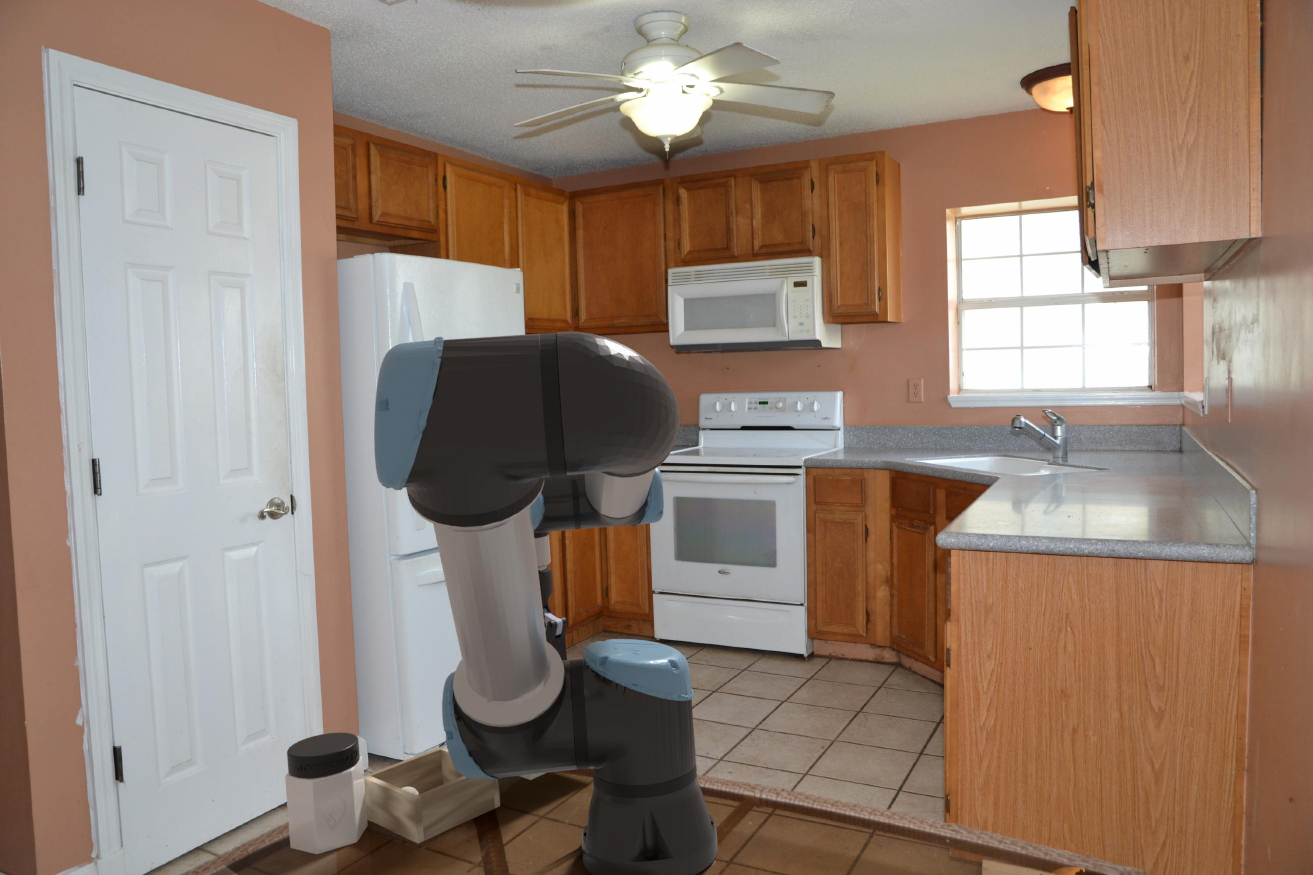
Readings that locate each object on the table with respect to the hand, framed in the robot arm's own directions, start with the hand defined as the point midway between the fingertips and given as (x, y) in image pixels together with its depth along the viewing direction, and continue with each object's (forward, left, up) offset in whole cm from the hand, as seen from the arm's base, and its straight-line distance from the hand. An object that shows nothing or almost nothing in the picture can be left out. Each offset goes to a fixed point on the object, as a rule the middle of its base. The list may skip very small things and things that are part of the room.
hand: (535, 739), depth 120 cm
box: (+4, +14, -6) cm, 16 cm away
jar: (+9, +25, -7) cm, 28 cm away
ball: (+6, +16, -6) cm, 18 cm away
